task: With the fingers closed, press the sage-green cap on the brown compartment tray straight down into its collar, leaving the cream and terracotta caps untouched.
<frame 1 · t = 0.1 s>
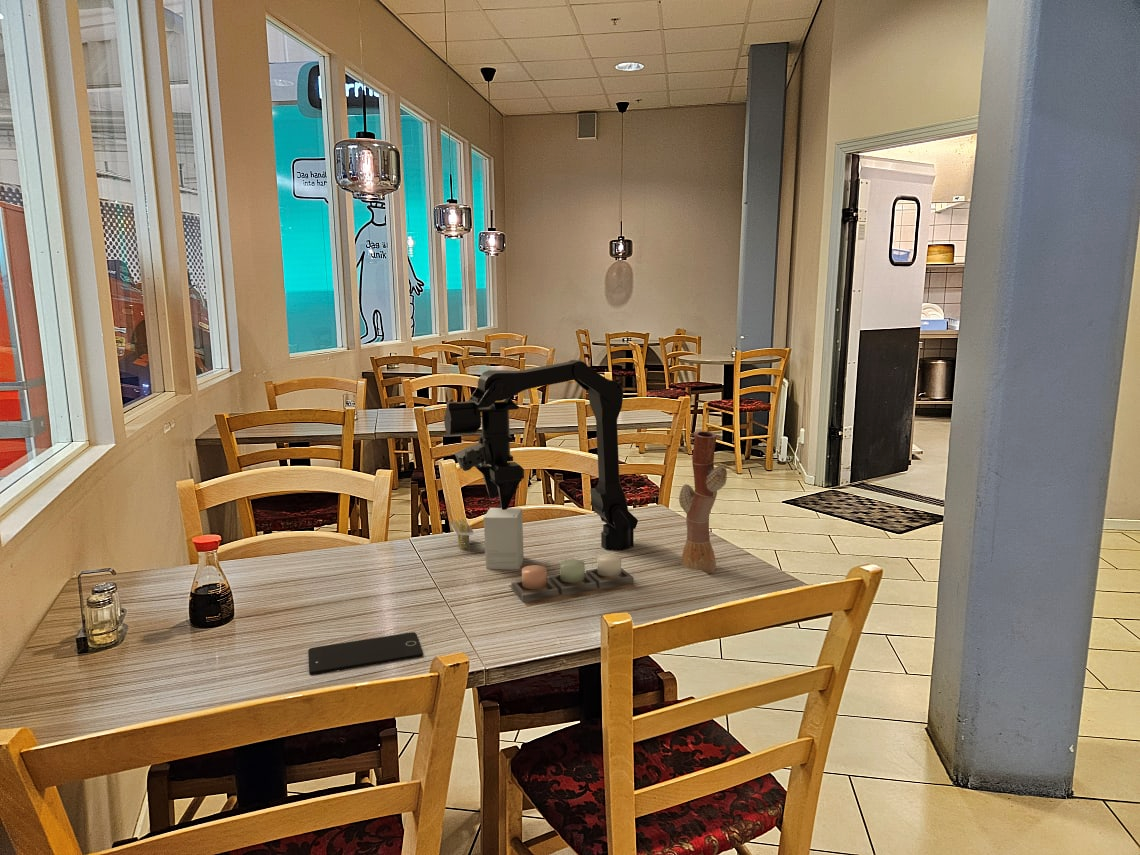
hand: (498, 503, 165), 15 cm above the table, fingers open, 9 cm apart
toothpick holder: (462, 548, 183), on the table
supplement box: (505, 569, 168), on the table
cell phone: (365, 657, 130), on the table
sage button: (572, 570, 154), point 4 cm above the table, slide at 0.0 cm
vase: (701, 571, 165), on the table
cream button: (609, 565, 157), point 4 cm above the table, slide at 0.0 cm
brown compartment tray: (572, 591, 155), on the table
terracotta button: (534, 576, 151), point 4 cm above the table, slide at 0.0 cm
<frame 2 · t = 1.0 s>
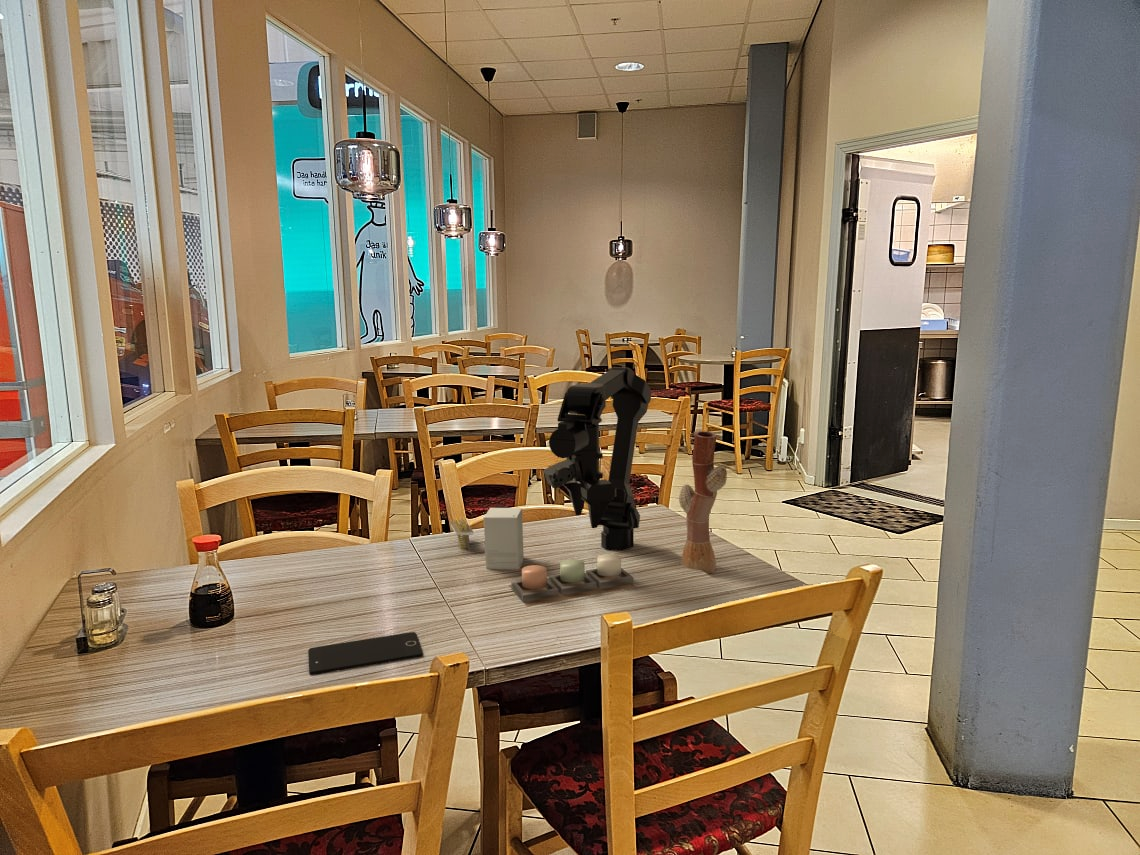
hand: (586, 521, 161), 12 cm above the table, fingers open, 9 cm apart
nothing on the table moved.
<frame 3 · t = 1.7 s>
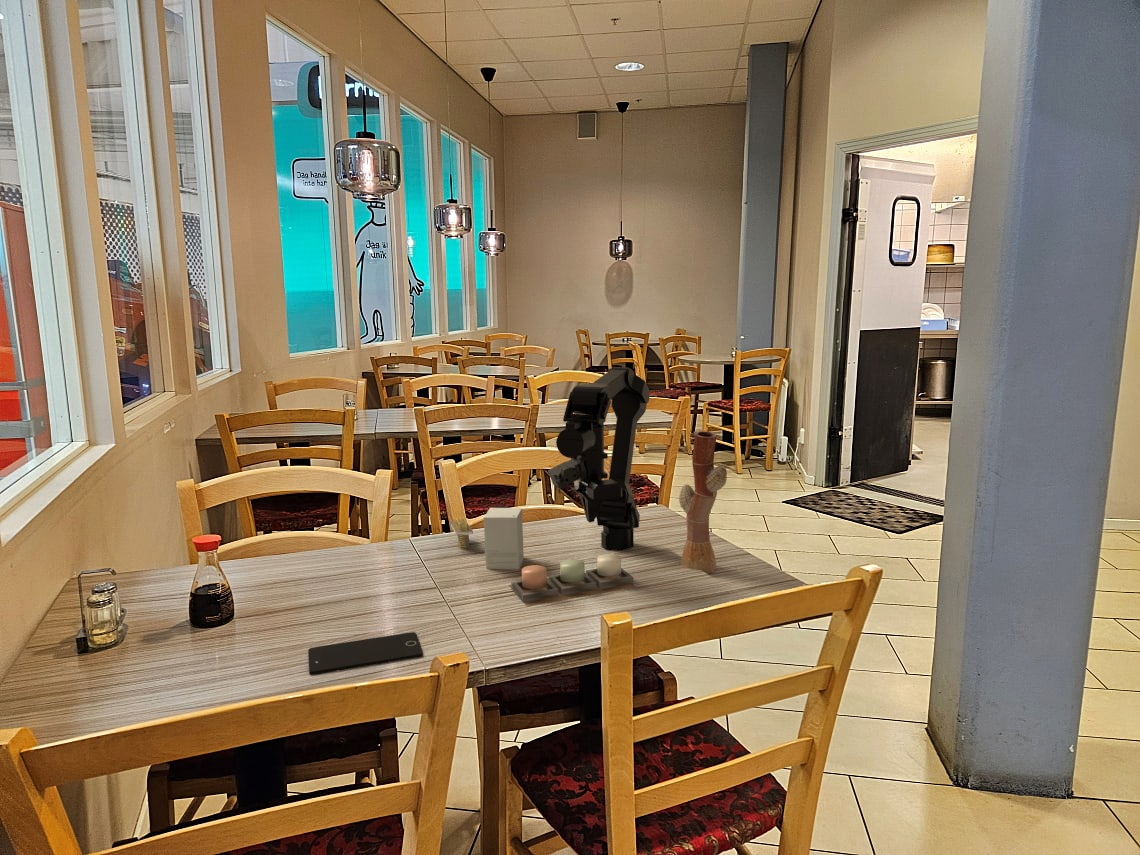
hand: (590, 521, 160), 12 cm above the table, fingers closed
nothing on the table moved.
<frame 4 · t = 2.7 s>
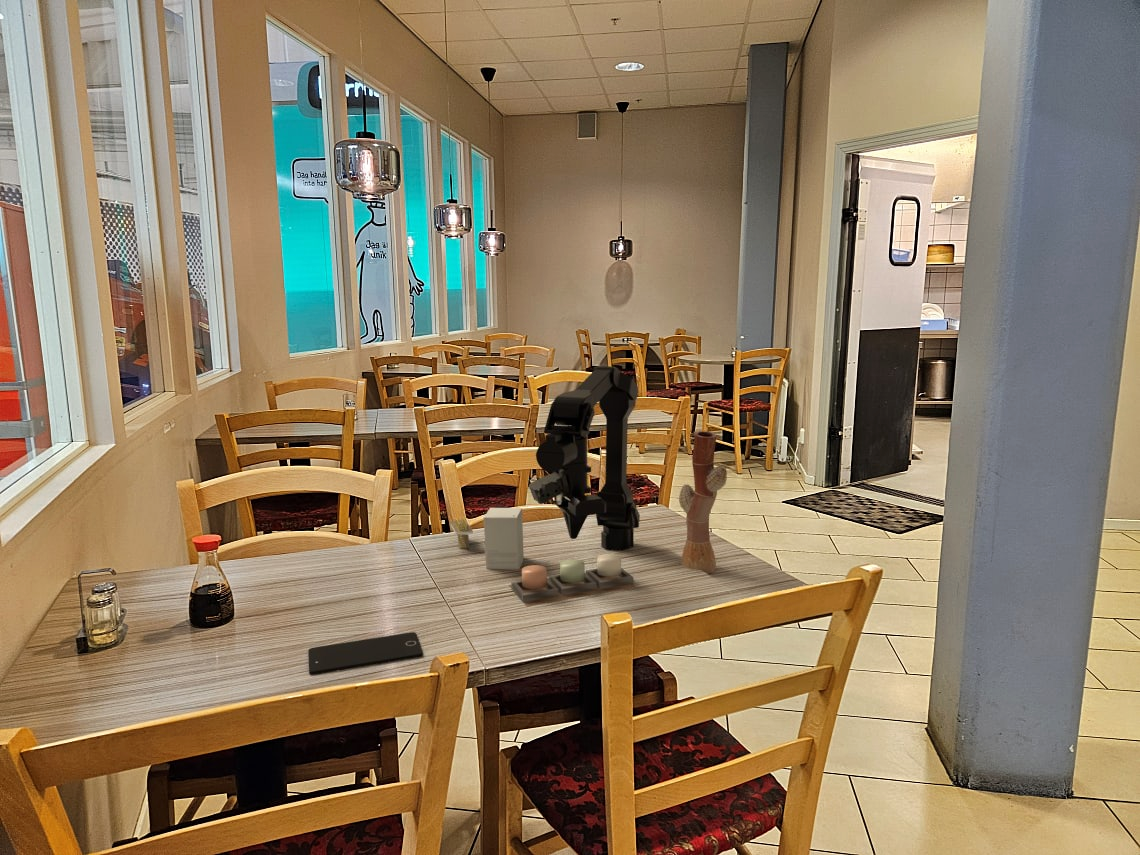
hand: (573, 538, 153), 11 cm above the table, fingers closed
nothing on the table moved.
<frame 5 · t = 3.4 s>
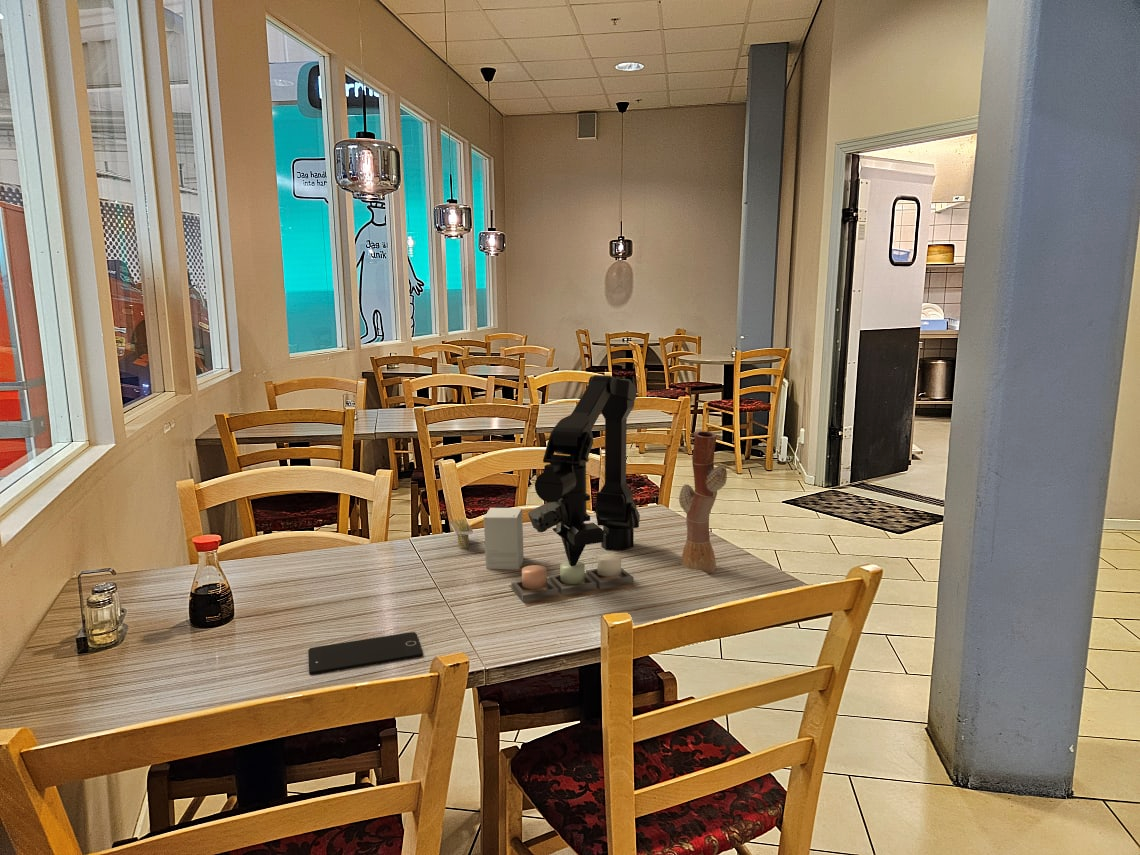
hand: (572, 565, 154), 6 cm above the table, fingers closed, pressing on sage button
sage button: (572, 572, 154), point 4 cm above the table, slide at 0.3 cm, touching gripper
everything else where it was.
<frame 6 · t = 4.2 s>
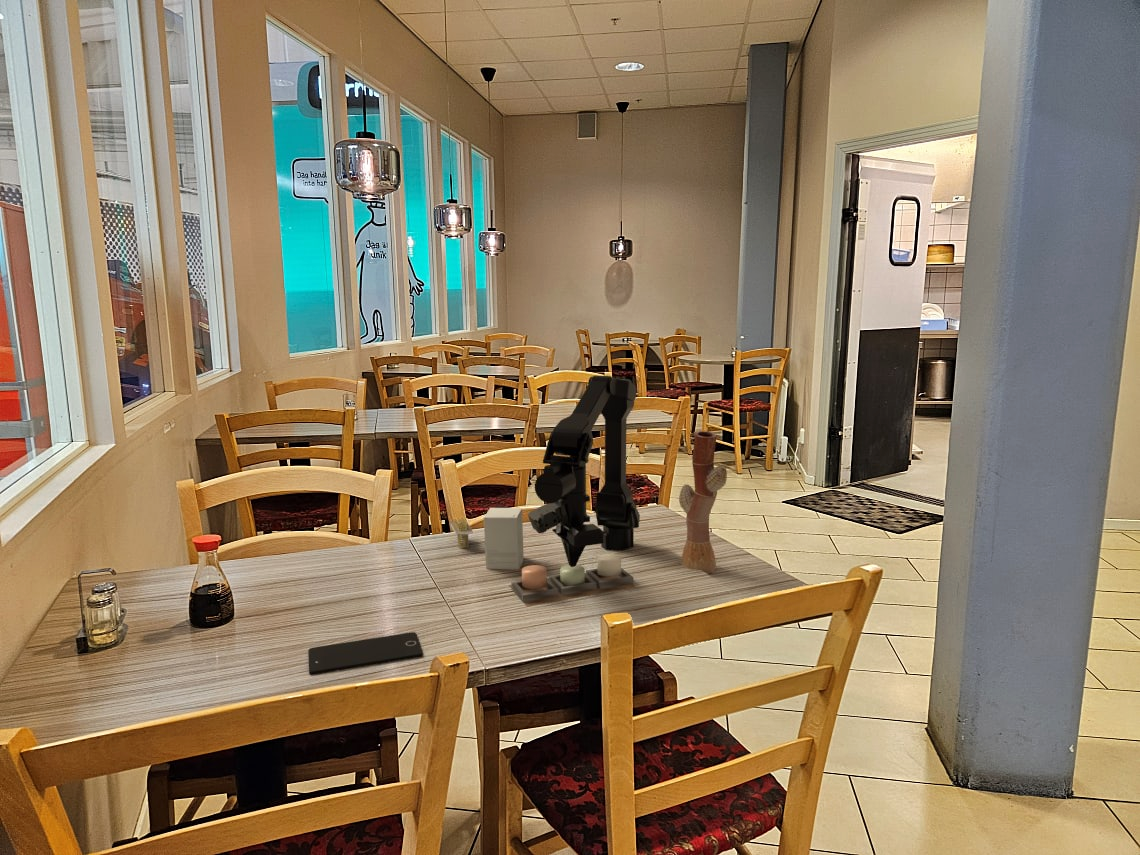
hand: (572, 566, 154), 5 cm above the table, fingers closed
sage button: (572, 576, 154), point 3 cm above the table, slide at 1.1 cm
everything else where it was.
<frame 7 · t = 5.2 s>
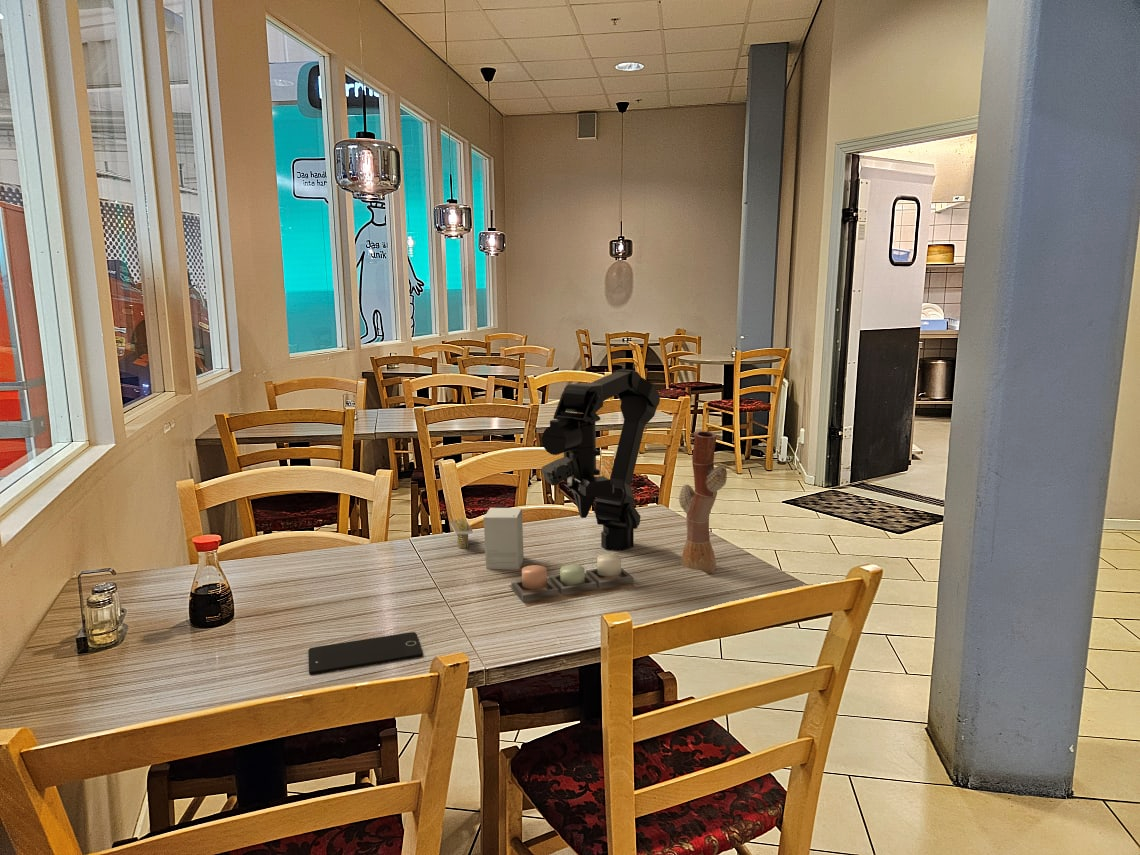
hand: (583, 517, 164), 12 cm above the table, fingers closed
nothing on the table moved.
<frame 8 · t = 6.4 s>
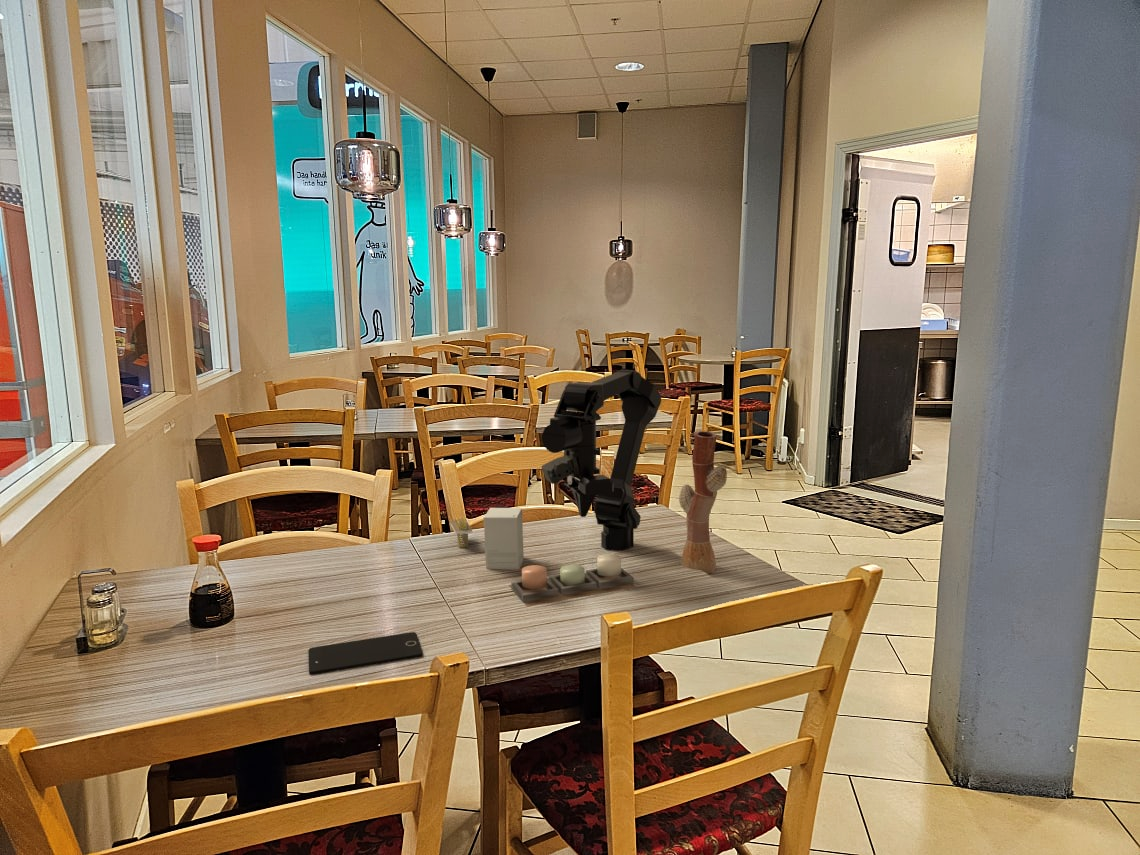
hand: (582, 516, 164), 12 cm above the table, fingers closed
at the end: sage button slide at 1.1 cm; cream button slide at 0.0 cm; terracotta button slide at 0.0 cm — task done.
